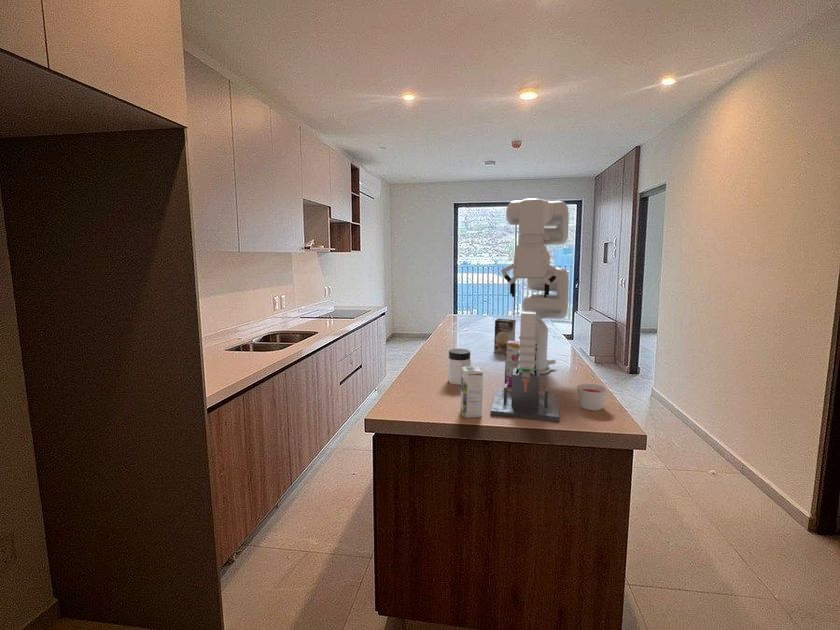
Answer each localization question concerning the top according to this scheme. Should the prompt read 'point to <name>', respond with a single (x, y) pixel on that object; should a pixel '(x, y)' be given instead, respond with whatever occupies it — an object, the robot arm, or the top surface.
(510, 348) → the candy bar box
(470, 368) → the syrup box
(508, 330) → the coffee box
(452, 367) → the jar
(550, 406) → the stand base
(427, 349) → the top surface
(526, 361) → the column
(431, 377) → the top surface
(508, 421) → the top surface
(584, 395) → the candle
